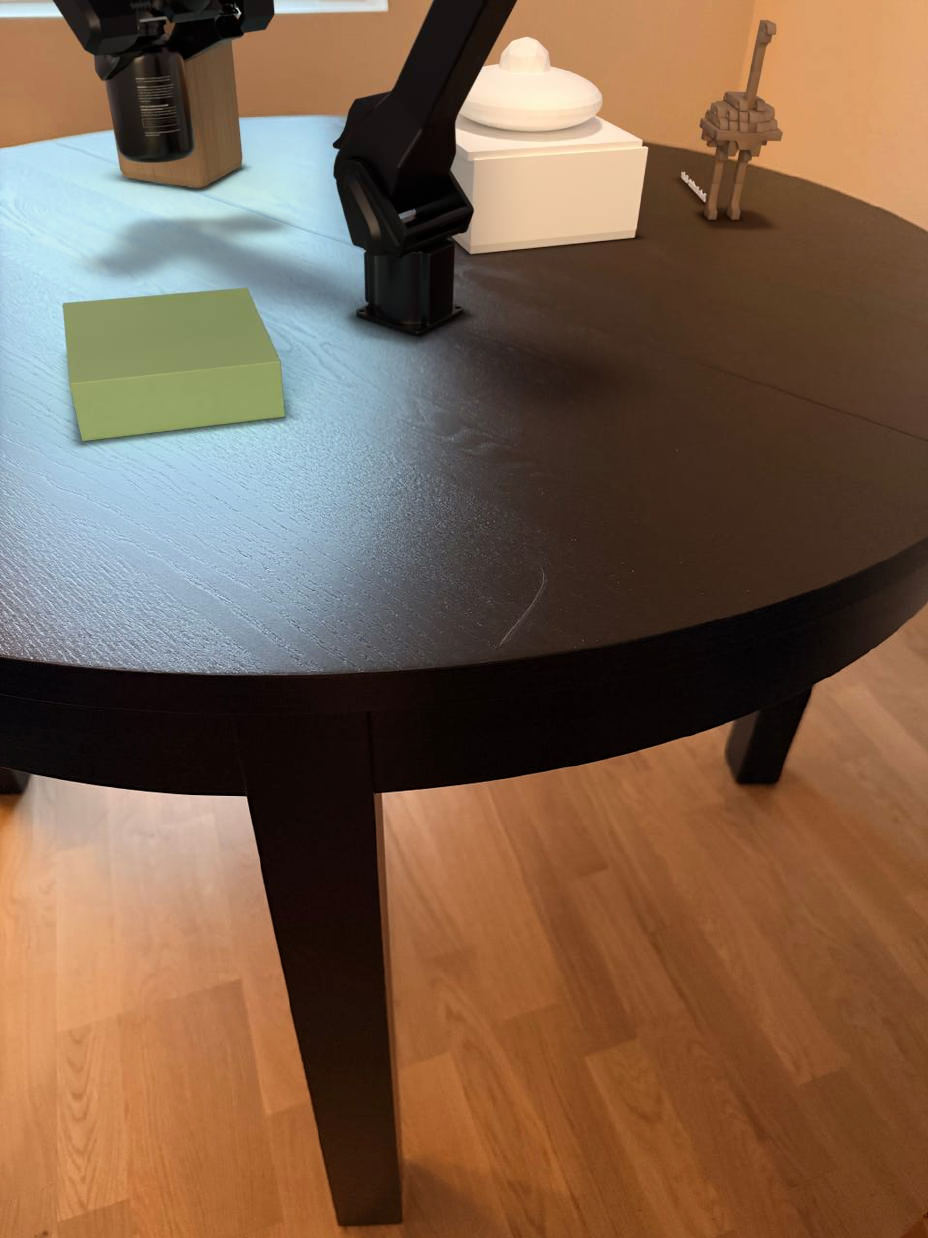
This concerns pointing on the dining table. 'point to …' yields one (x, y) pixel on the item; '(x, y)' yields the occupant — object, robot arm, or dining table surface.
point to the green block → (170, 363)
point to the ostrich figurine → (738, 130)
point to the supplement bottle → (152, 100)
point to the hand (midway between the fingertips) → (134, 69)
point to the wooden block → (202, 125)
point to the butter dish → (543, 158)
